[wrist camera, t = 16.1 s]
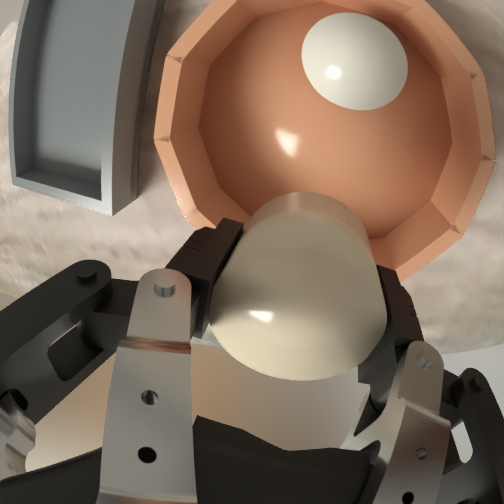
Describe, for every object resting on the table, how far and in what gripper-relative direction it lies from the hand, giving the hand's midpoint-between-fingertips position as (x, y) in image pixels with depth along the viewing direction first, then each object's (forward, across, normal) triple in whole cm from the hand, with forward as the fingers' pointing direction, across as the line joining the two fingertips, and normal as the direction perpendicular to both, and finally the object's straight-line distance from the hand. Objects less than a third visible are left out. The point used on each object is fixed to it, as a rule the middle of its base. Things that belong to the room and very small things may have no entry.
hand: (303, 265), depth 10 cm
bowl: (+10, 0, -4) cm, 11 cm away
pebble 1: (+1, 0, 0) cm, 1 cm away
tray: (+10, +20, -5) cm, 23 cm away
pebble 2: (+9, 0, -8) cm, 12 cm away
